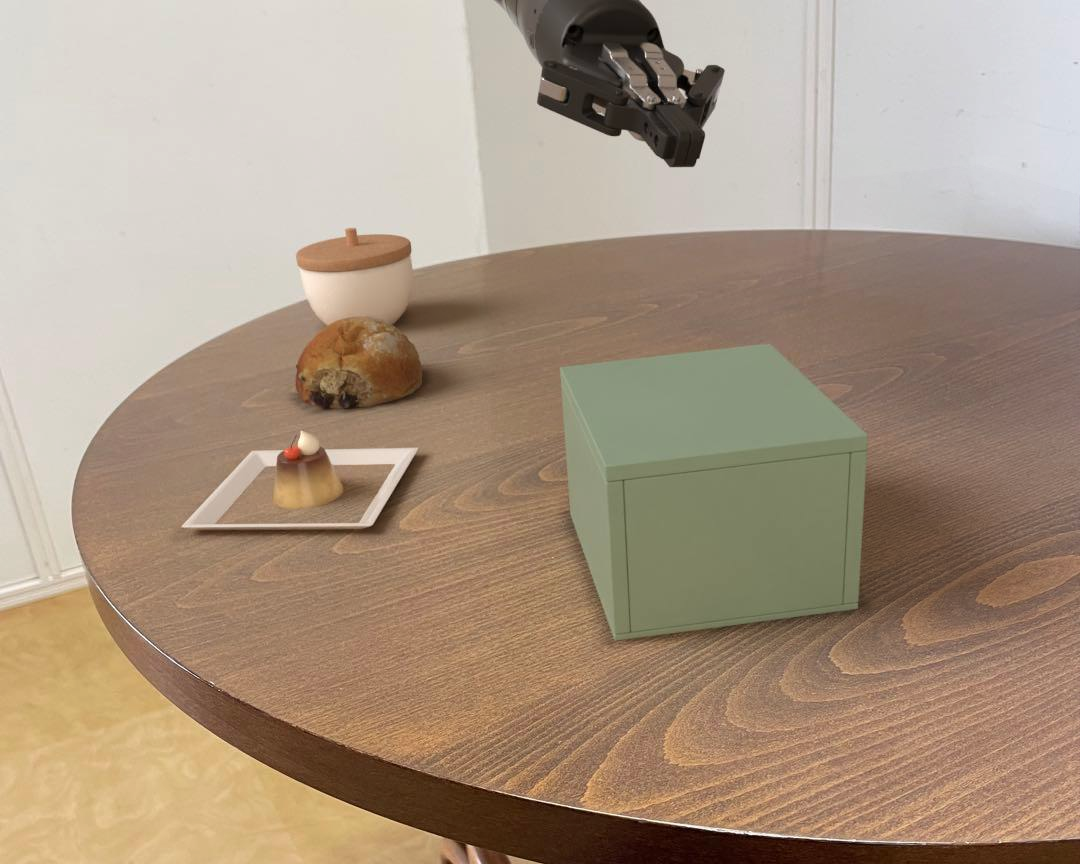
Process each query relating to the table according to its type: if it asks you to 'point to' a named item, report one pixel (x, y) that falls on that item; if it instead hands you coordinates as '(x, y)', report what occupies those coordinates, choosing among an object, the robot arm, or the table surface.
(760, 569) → the cabinet
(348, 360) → the bread roll
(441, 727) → the table surface
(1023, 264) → the table surface
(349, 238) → the trinket box
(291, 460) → the dessert
